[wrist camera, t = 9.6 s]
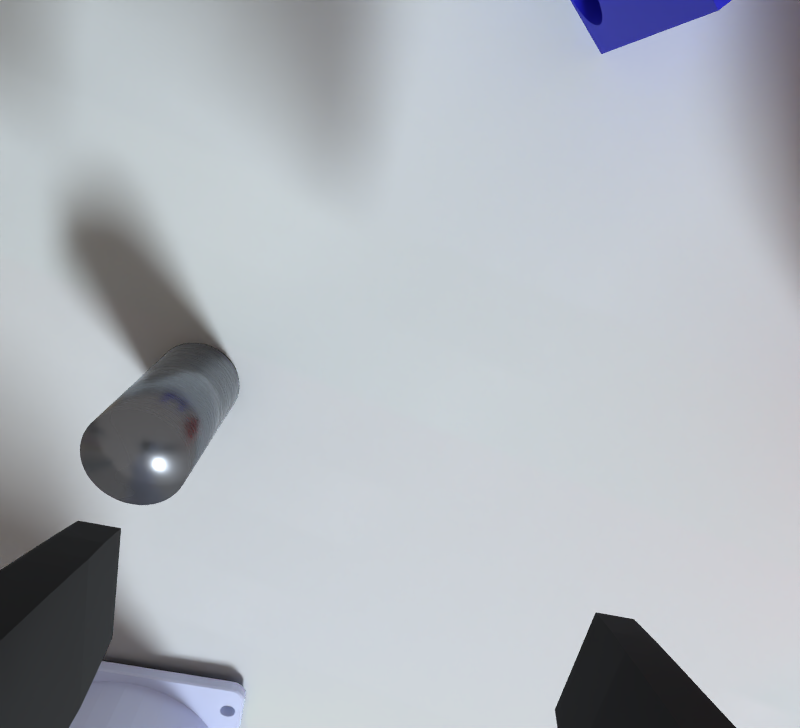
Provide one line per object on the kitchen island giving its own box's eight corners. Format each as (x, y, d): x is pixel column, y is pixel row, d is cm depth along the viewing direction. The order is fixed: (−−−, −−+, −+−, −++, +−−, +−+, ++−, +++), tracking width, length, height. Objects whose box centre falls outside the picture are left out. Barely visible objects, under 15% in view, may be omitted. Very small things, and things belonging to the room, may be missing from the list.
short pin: (230, 428, 19) (177, 516, 14) (150, 406, 18) (74, 489, 14) (247, 357, 18) (197, 427, 14) (164, 332, 18) (87, 397, 13)
